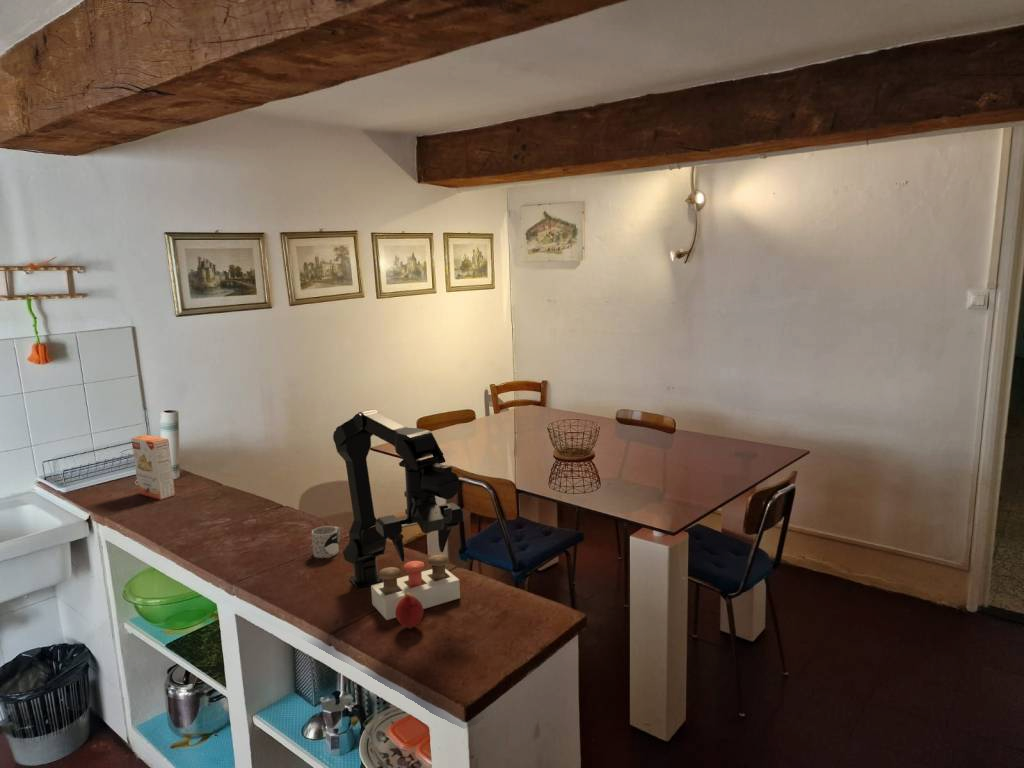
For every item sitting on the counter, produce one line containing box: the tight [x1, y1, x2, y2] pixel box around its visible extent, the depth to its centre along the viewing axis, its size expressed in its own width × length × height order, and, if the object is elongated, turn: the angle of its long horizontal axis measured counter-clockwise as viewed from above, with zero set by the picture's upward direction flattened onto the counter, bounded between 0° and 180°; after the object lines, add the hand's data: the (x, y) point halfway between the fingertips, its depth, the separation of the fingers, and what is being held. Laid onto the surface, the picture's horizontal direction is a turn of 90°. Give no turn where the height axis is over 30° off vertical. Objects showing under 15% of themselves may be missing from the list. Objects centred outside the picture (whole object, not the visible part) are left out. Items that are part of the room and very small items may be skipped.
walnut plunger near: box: [378, 566, 401, 596], centre depth 156 cm, size 5×5×6 cm
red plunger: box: [403, 560, 426, 588], centre depth 159 cm, size 5×5×6 cm
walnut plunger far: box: [427, 554, 449, 581], centre depth 162 cm, size 5×5×6 cm
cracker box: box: [130, 434, 176, 501], centre depth 245 cm, size 14×6×21 cm, turn 57°
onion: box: [395, 593, 424, 630], centre depth 148 cm, size 6×6×8 cm
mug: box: [311, 525, 341, 560], centre depth 190 cm, size 10×7×7 cm, turn 161°
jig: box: [370, 568, 461, 621], centre depth 160 cm, size 9×18×4 cm, turn 121°
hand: (422, 556), depth 154 cm, fingers open, 9 cm apart
